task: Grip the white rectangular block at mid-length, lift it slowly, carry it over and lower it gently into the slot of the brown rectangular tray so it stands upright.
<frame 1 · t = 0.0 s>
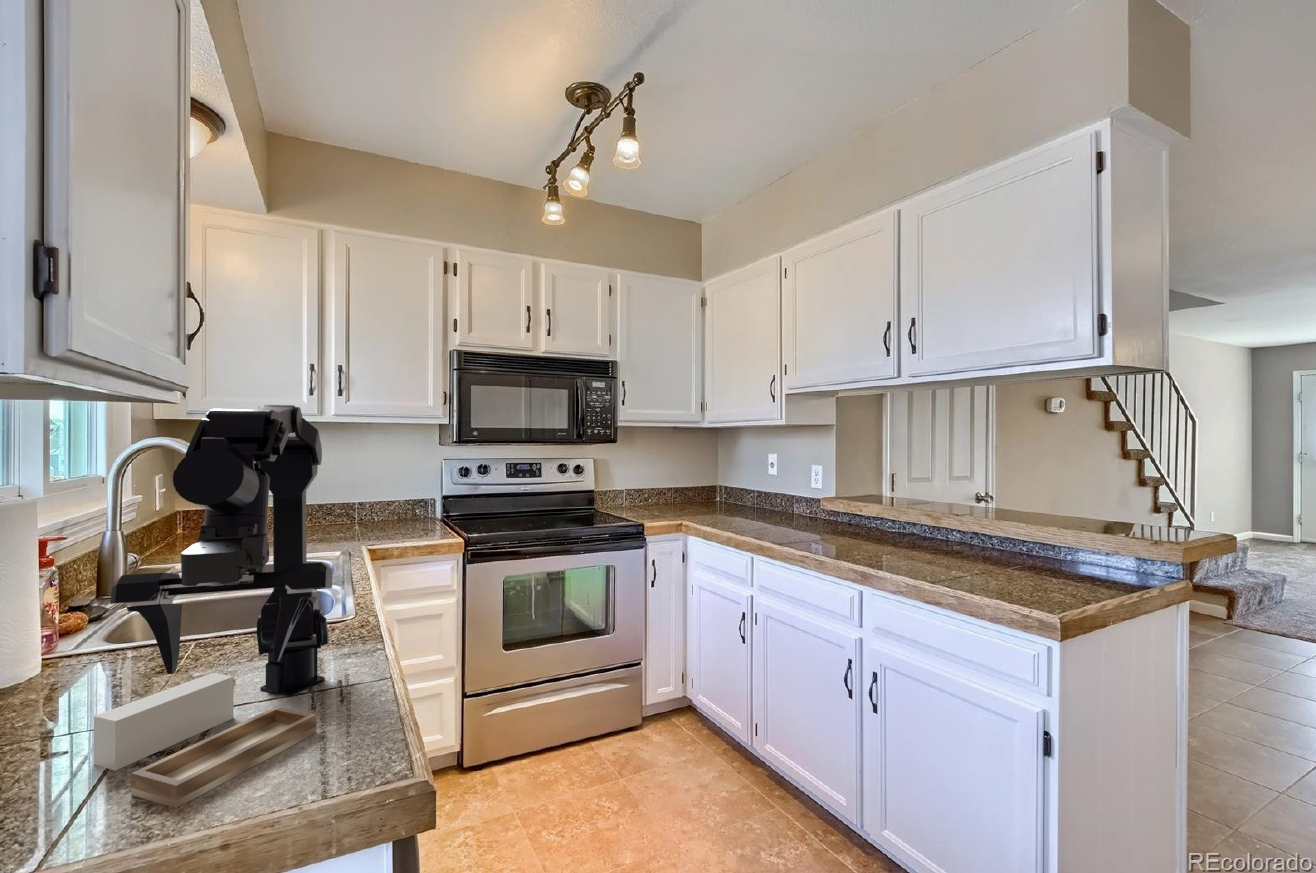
hand: (225, 667, 63), 15 cm above the counter, tool pointing down, fingers open, 9 cm apart
brown rectangular tray: (232, 760, 73), on the counter
white rectangular block: (168, 740, 78), on the counter
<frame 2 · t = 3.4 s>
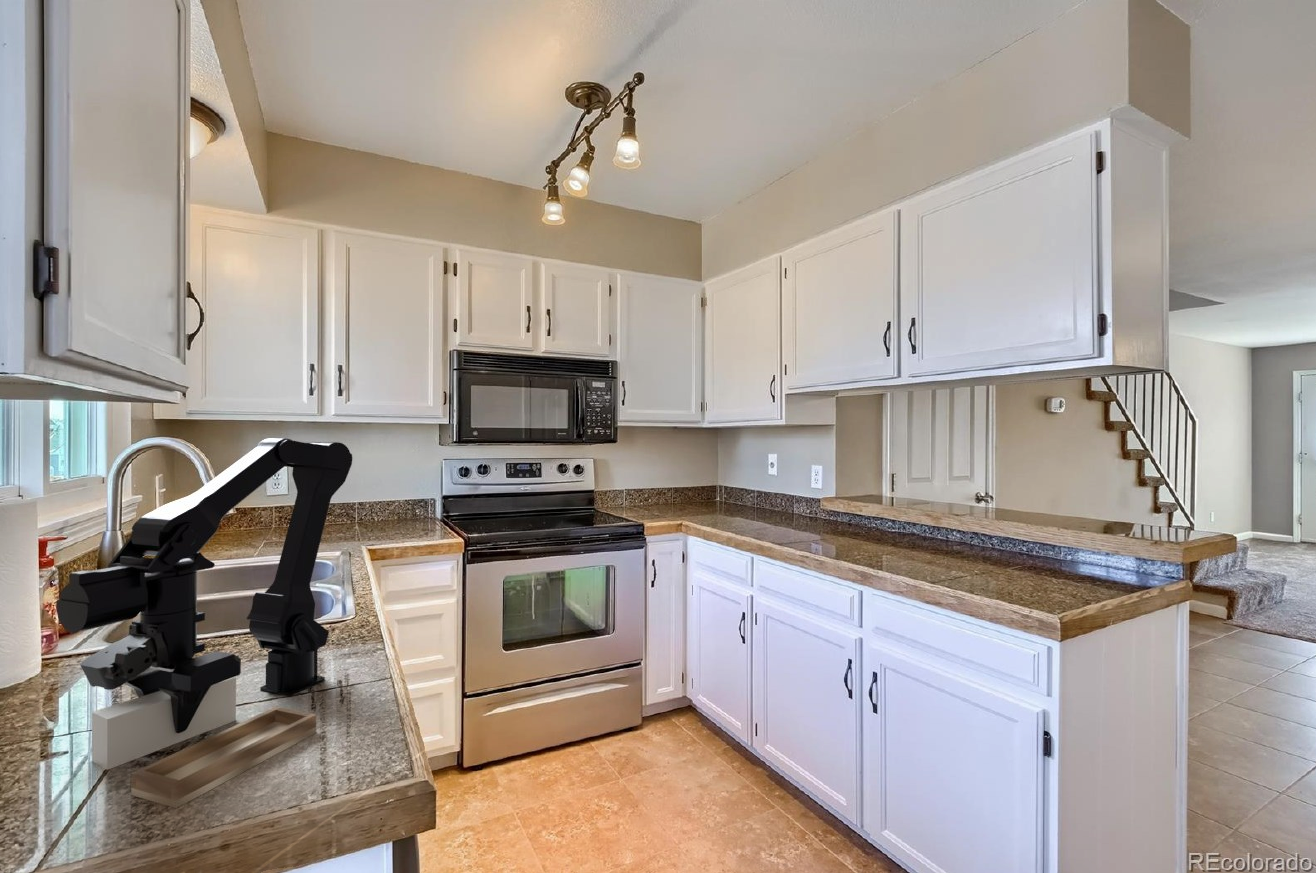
hand: (168, 729, 78), 1 cm above the counter, tool pointing down, fingers closed on white rectangular block, 4 cm apart
white rectangular block: (168, 739, 78), on the counter, touching gripper
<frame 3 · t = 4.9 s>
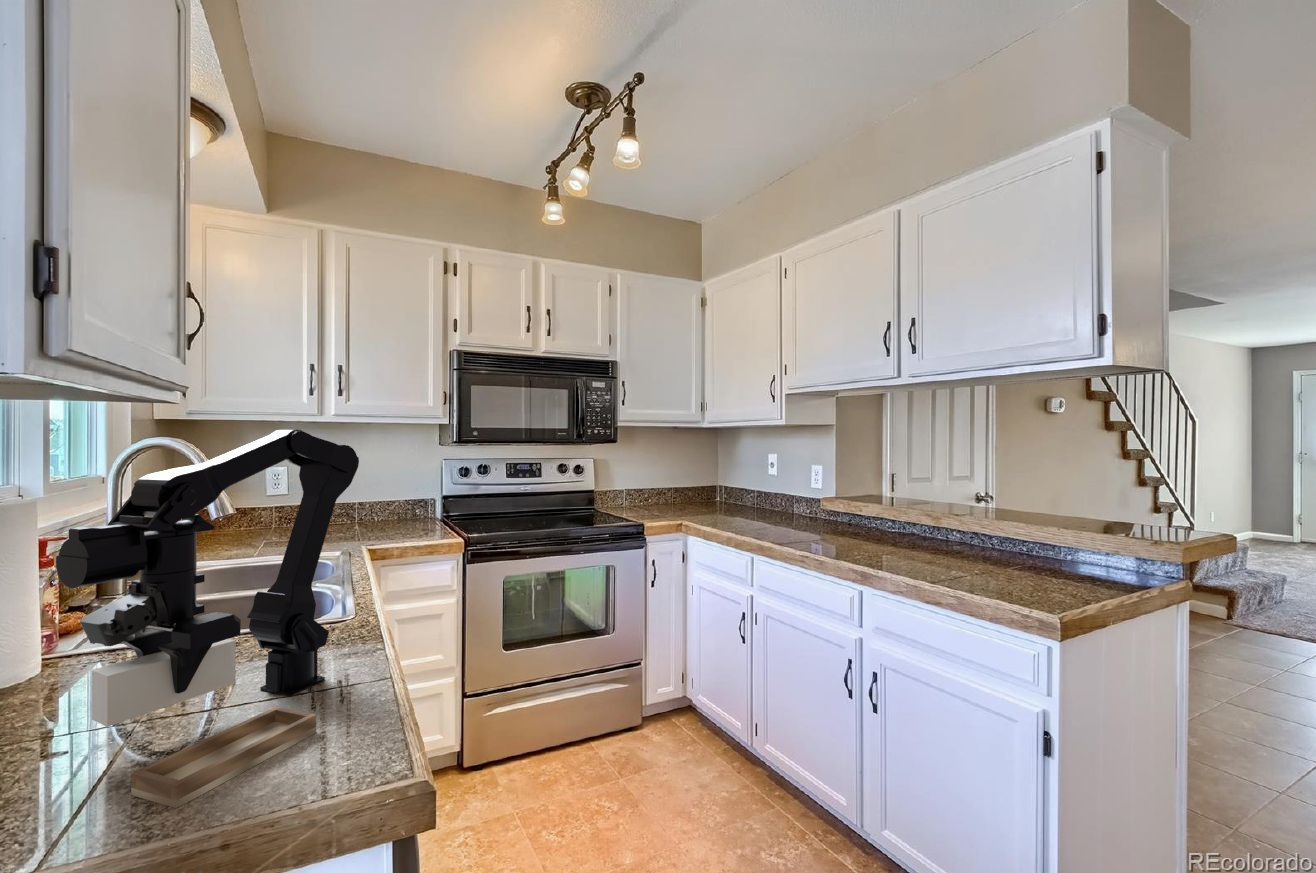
hand: (168, 689, 78), 6 cm above the counter, tool pointing down, fingers closed on white rectangular block, 4 cm apart
white rectangular block: (168, 700, 78), point 5 cm above the counter, touching gripper
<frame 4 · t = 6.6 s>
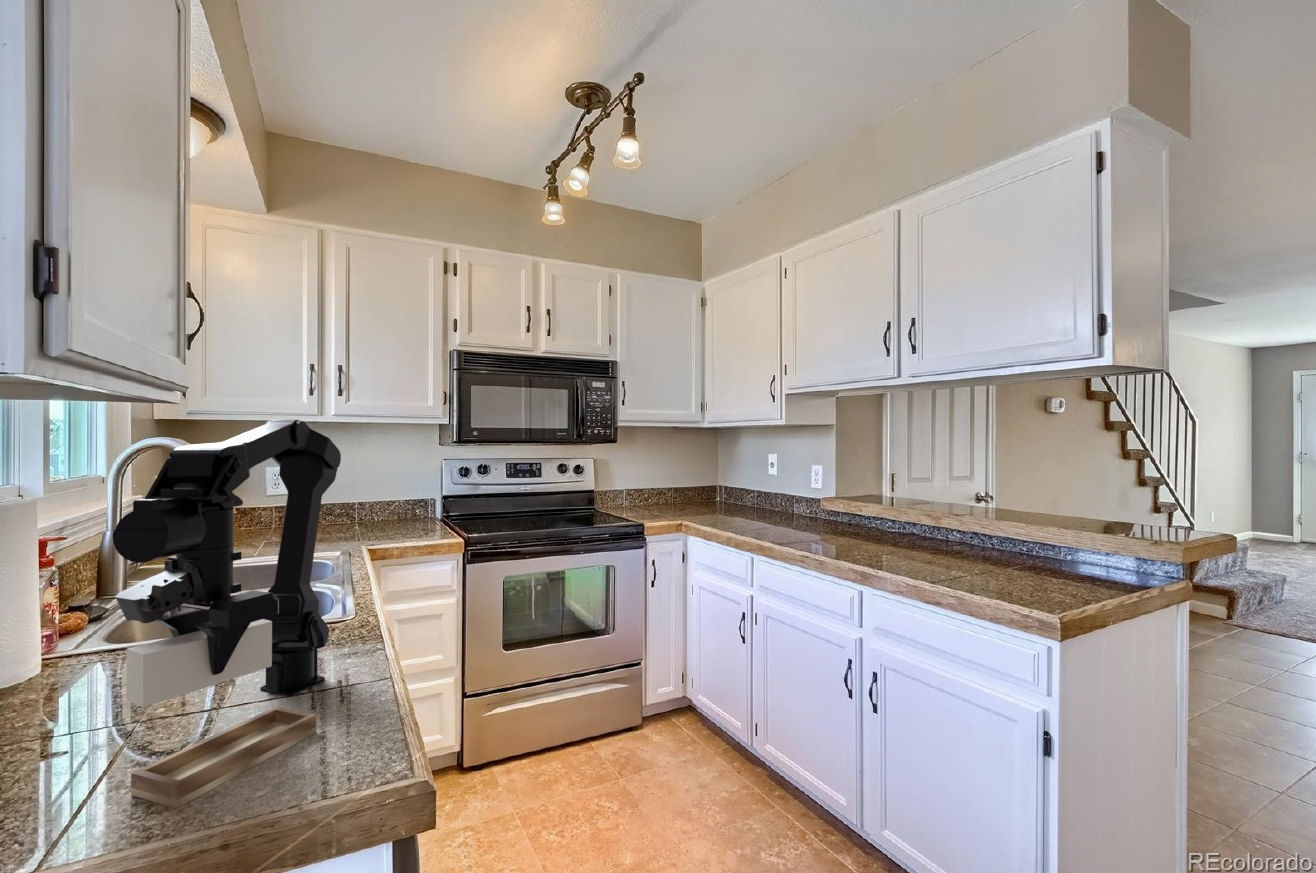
hand: (204, 671, 75), 10 cm above the counter, tool pointing down, fingers closed on white rectangular block, 4 cm apart
white rectangular block: (204, 682, 75), point 9 cm above the counter, touching gripper
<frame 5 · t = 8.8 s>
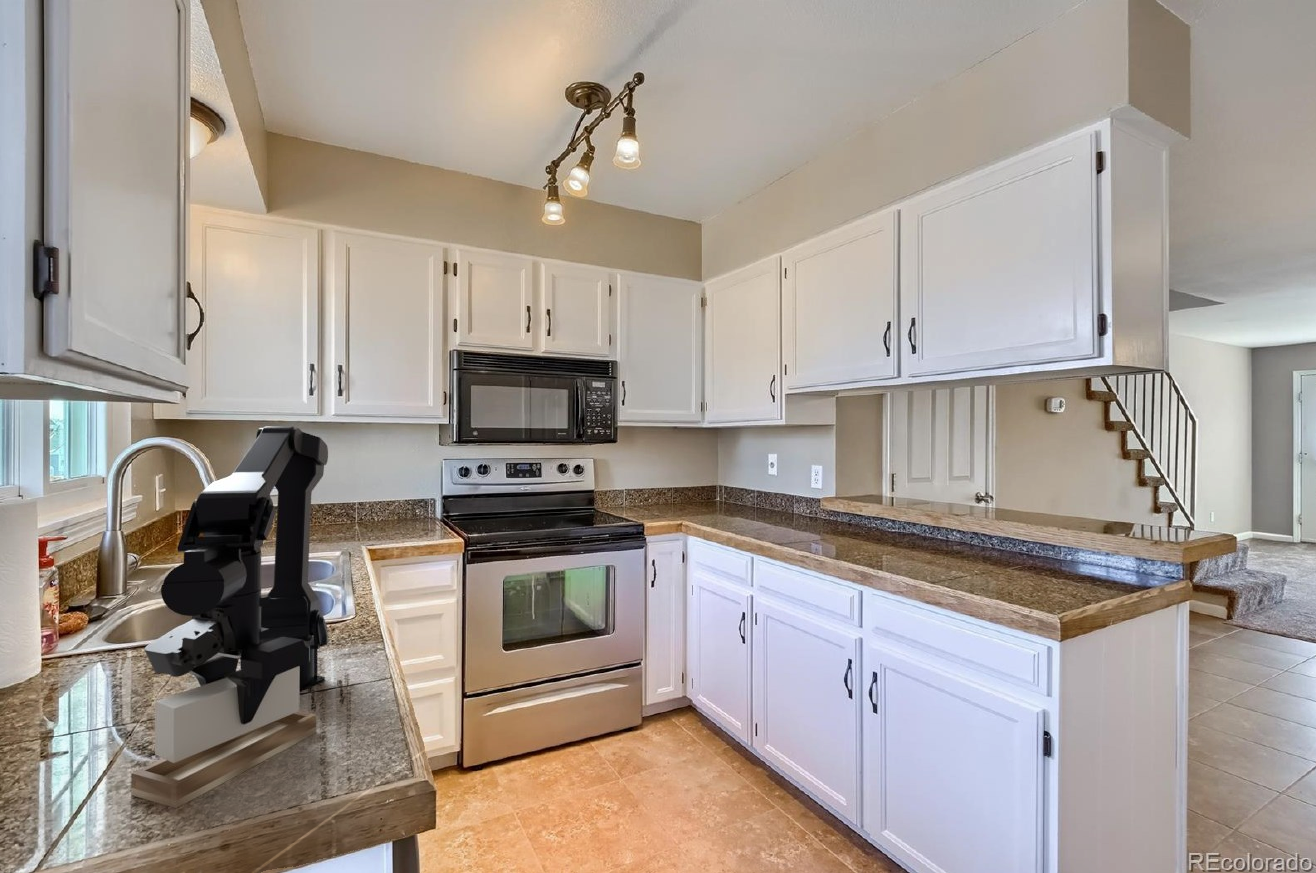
hand: (232, 720, 73), 5 cm above the counter, tool pointing down, fingers closed on white rectangular block, 4 cm apart
white rectangular block: (232, 731, 73), point 4 cm above the counter, touching gripper
when the fingers open (3 cm above the counter, at t = 10.2 s): white rectangular block stays where it is, resting on brown rectangular tray.
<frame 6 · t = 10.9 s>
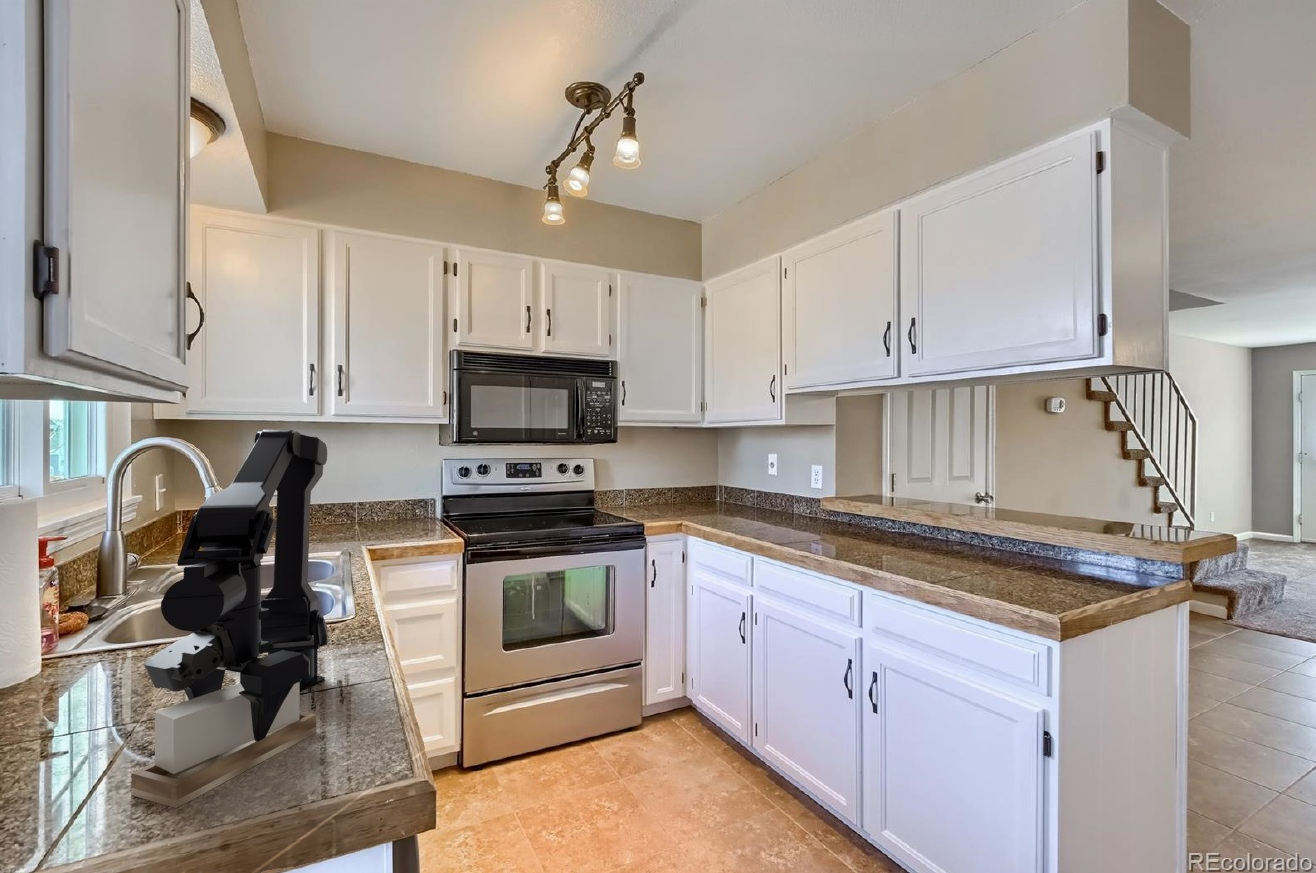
hand: (232, 733, 73), 3 cm above the counter, tool pointing down, fingers open, 9 cm apart
white rectangular block: (232, 740, 73), point 2 cm above the counter, touching brown rectangular tray
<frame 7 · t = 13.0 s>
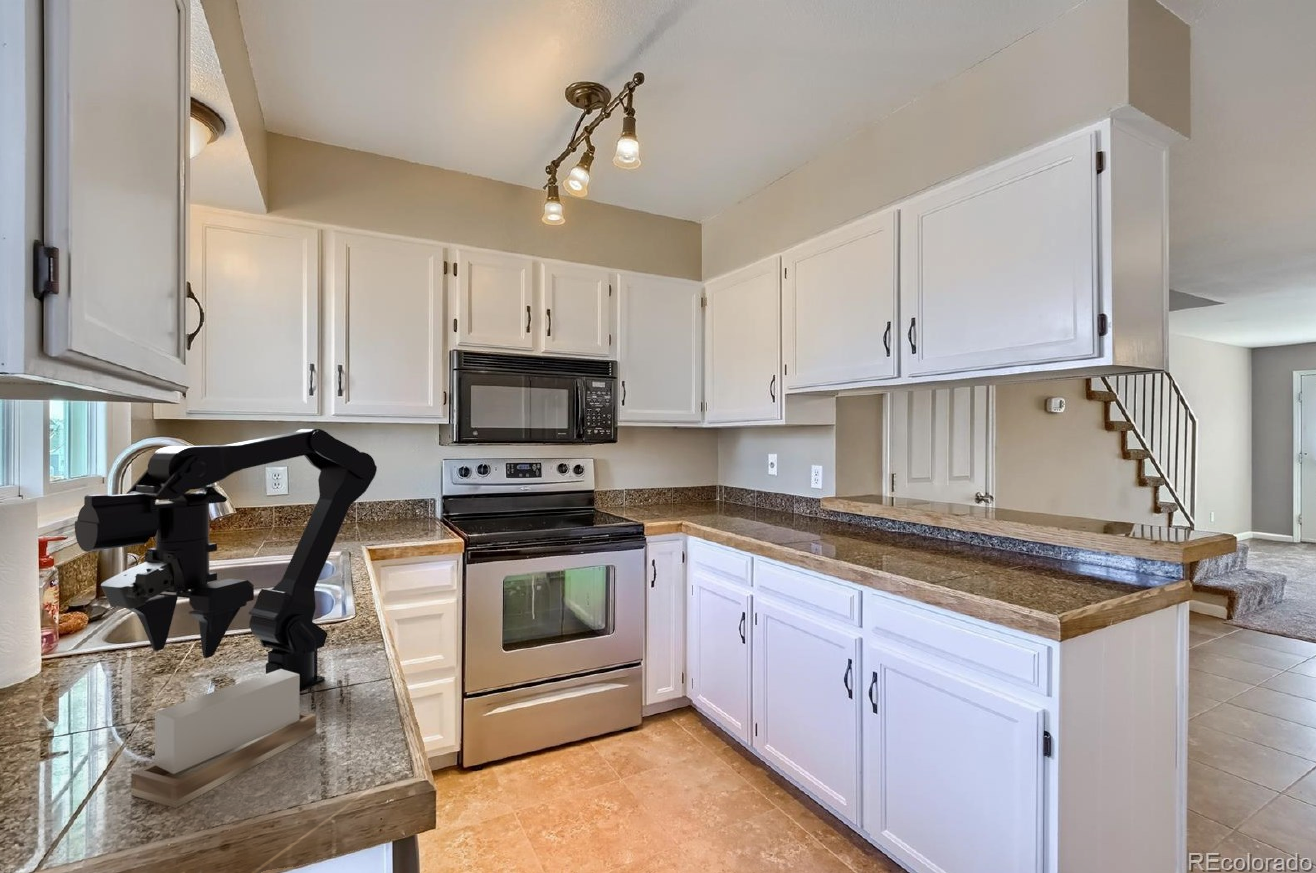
hand: (183, 653, 81), 10 cm above the counter, tool pointing down, fingers open, 9 cm apart
nothing on the counter moved.
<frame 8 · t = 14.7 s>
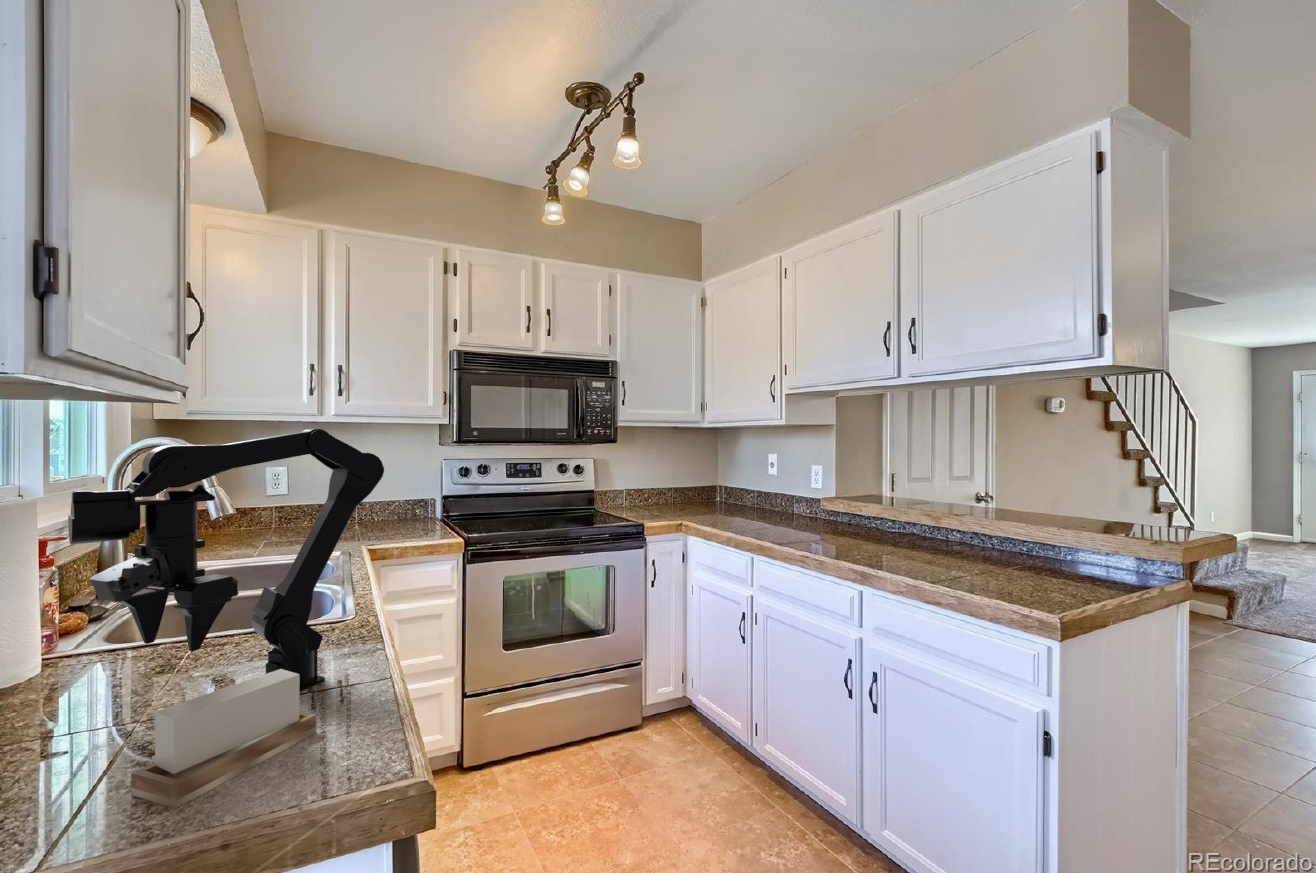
hand: (171, 646, 84), 10 cm above the counter, tool pointing down, fingers open, 9 cm apart
nothing on the counter moved.
at the end: white rectangular block 0.1 cm off-centre on the brown rectangular tray, point 2.4 cm above the brown rectangular tray's base; white rectangular block tilted 0°; the gripper is holding nothing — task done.
